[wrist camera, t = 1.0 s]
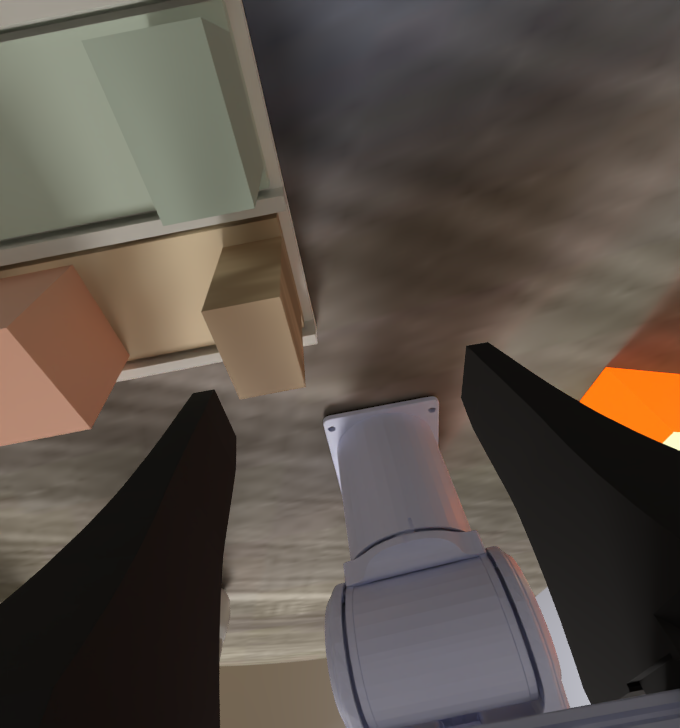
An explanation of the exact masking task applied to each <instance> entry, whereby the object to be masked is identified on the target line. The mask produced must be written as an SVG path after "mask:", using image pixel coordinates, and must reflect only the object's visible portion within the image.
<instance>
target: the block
mask: <svg viewBox="0 0 680 728" xmlns="http://www.w3.org/2000/svg"><path fill="white" fill-rule="evenodd" d="M129 356H130V355H129V354H128V352H127V350H126V349H125V347H124V346H123V344H122V343H121V341H120V339H119V338H118V336H117V335H116V333H115V331H114V330H113V328H112V327H111V325H110V323H109V322H108V320H107V319H106V317H105V316H104V314H103V312H102V311H101V309H100V308H99V306H98V304H97V303H96V301H95V300H94V298H93V297H92V295H91V293H90V292H89V290H88V289H87V287H86V285H85V284H84V282H83V281H82V279H81V277H80V276H79V274H78V273H77V271H76V270H75V268H74V266H73V265H68V266H63V267H58V268H53V269H48V270H42V271H37V272H32V273H27V274H22V275H17V276H11V277H6V278H1V279H0V446H4V445H9V444H14V443H20V442H25V441H30V440H35V439H41V438H46V437H51V436H56V435H62V434H67V433H72V432H78V431H83V430H88V429H91V428H92V426H93V424H94V422H95V421H96V419H97V417H98V415H99V413H100V411H101V409H102V407H103V405H104V404H105V402H106V400H107V398H108V396H109V394H110V392H111V390H112V388H113V387H114V385H115V383H116V381H117V379H118V377H119V375H120V373H121V371H122V370H123V368H124V366H125V364H126V362H127V360H128V358H129Z"/></svg>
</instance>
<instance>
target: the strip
mask: <svg viewBox="0 0 680 728" xmlns="http://www.w3.org/2000/svg"><path fill="white" fill-rule="evenodd" d="M269 185H270V180H269V176H268V172H267V168H266V164H265V160H264V156H263V152H262V148H261V144H260V140H259V136H258V132H257V128H256V124H255V120H254V116H253V112H252V108H251V104H250V100H249V96H248V92H247V88H246V84H245V80H244V76H243V72H242V68H241V64H240V60H239V55H238V51H237V47H236V43H235V39H234V35H233V31H232V27H231V23H230V19H229V15H228V11H227V7H226V3H225V2H224V1H223V0H212V1H207V2H202V3H197V4H192V5H187V6H182V7H177V8H172V9H167V10H162V11H157V12H152V13H147V14H141V15H136V16H131V17H126V18H121V19H116V20H111V21H106V22H101V23H96V24H91V25H86V26H81V27H76V28H71V29H66V30H61V31H56V32H51V33H46V34H41V35H36V36H31V37H26V38H21V39H16V40H11V41H6V42H1V43H0V240H3V239H8V238H14V237H19V236H24V235H29V234H34V233H39V232H44V231H50V230H55V229H60V228H65V227H70V226H75V225H80V224H86V223H91V222H96V221H101V220H106V219H111V218H116V217H122V216H127V215H132V214H137V213H142V212H147V211H152V210H156V211H157V213H158V215H159V218H160V220H161V222H162V224H163V226H167V225H172V224H177V223H182V222H187V221H193V220H198V219H203V218H208V217H213V216H218V215H223V214H229V213H234V212H239V211H244V210H249V209H254V208H255V205H256V201H257V196H258V191H259V190H260V189H266V188H269Z"/></svg>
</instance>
